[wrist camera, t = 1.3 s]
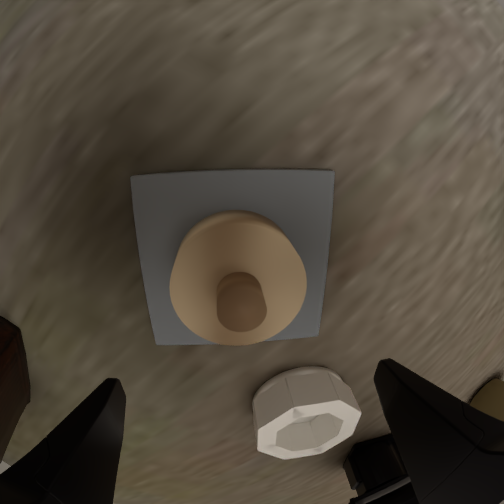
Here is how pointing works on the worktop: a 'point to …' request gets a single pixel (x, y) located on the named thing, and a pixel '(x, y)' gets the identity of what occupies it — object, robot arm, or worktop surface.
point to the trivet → (221, 199)
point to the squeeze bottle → (491, 399)
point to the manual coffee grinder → (11, 381)
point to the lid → (237, 279)
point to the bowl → (303, 412)
